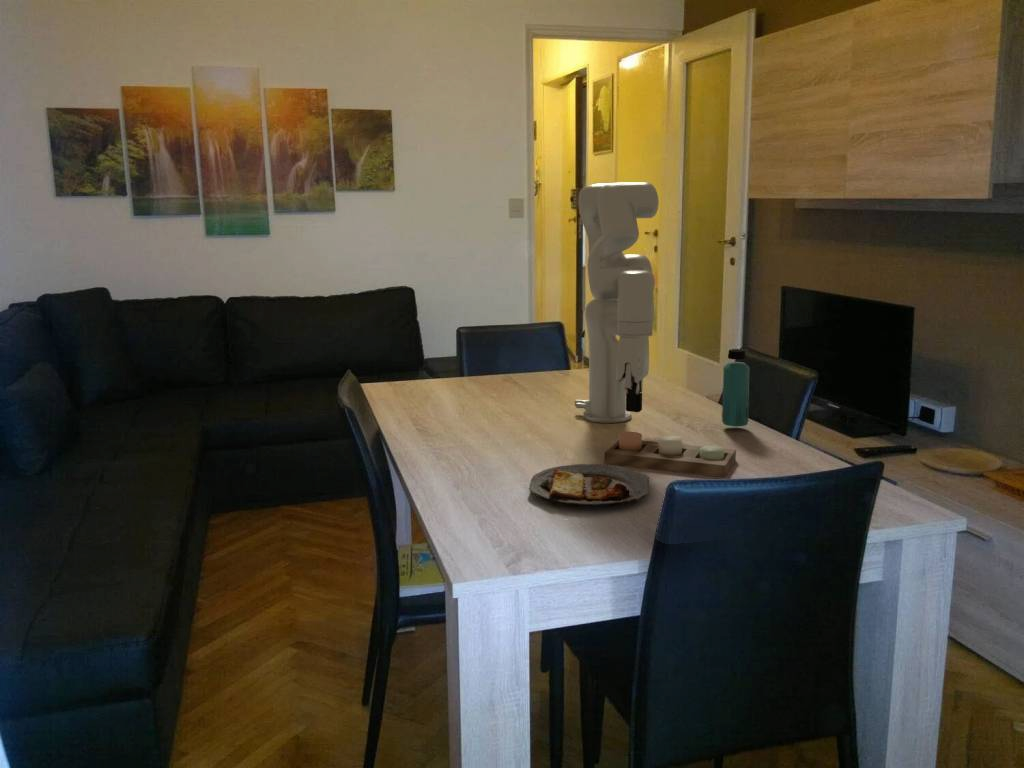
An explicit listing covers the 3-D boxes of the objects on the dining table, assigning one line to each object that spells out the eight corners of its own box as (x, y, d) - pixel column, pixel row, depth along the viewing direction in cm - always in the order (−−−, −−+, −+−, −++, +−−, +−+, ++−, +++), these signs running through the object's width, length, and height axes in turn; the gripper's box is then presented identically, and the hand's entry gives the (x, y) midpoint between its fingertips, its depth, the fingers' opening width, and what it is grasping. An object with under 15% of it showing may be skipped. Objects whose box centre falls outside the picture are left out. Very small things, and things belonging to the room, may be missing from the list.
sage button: (697, 467, 182) (697, 451, 182) (702, 460, 187) (702, 445, 186) (720, 469, 180) (721, 453, 179) (725, 462, 185) (726, 447, 184)
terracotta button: (616, 451, 189) (616, 436, 189) (622, 445, 194) (622, 430, 193) (637, 454, 187) (638, 438, 187) (644, 448, 192) (644, 432, 191)
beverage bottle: (749, 433, 209) (752, 352, 204) (721, 432, 210) (723, 351, 206) (747, 426, 215) (750, 347, 211) (720, 425, 216) (722, 346, 212)
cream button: (655, 456, 186) (656, 440, 185) (661, 449, 190) (662, 434, 189) (678, 458, 184) (679, 442, 183) (684, 452, 188) (684, 436, 187)
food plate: (647, 516, 156) (647, 497, 155) (521, 512, 160) (520, 494, 159) (650, 476, 180) (650, 460, 180) (540, 473, 184) (540, 457, 184)
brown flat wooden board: (604, 463, 187) (604, 452, 187) (621, 448, 198) (621, 438, 197) (724, 477, 177) (725, 465, 176) (735, 460, 187) (735, 449, 187)
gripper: (627, 322, 193) (626, 401, 197) (607, 332, 179) (607, 417, 183) (660, 323, 190) (659, 404, 194) (642, 334, 176) (641, 420, 180)
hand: (633, 410), depth 189 cm, fingers closed
